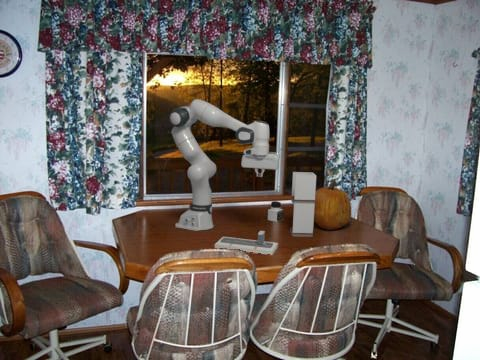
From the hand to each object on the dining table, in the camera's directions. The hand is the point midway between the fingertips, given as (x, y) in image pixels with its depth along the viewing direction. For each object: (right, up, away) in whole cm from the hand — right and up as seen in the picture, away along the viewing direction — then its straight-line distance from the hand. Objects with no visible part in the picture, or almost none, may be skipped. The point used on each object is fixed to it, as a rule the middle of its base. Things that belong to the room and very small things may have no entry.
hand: (259, 176), depth 244 cm
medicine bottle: (+12, -28, +43) cm, 53 cm away
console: (-7, -37, -12) cm, 39 cm away
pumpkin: (+43, -31, +31) cm, 61 cm away
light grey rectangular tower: (+25, -33, +15) cm, 44 cm away
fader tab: (0, -35, -14) cm, 38 cm away
